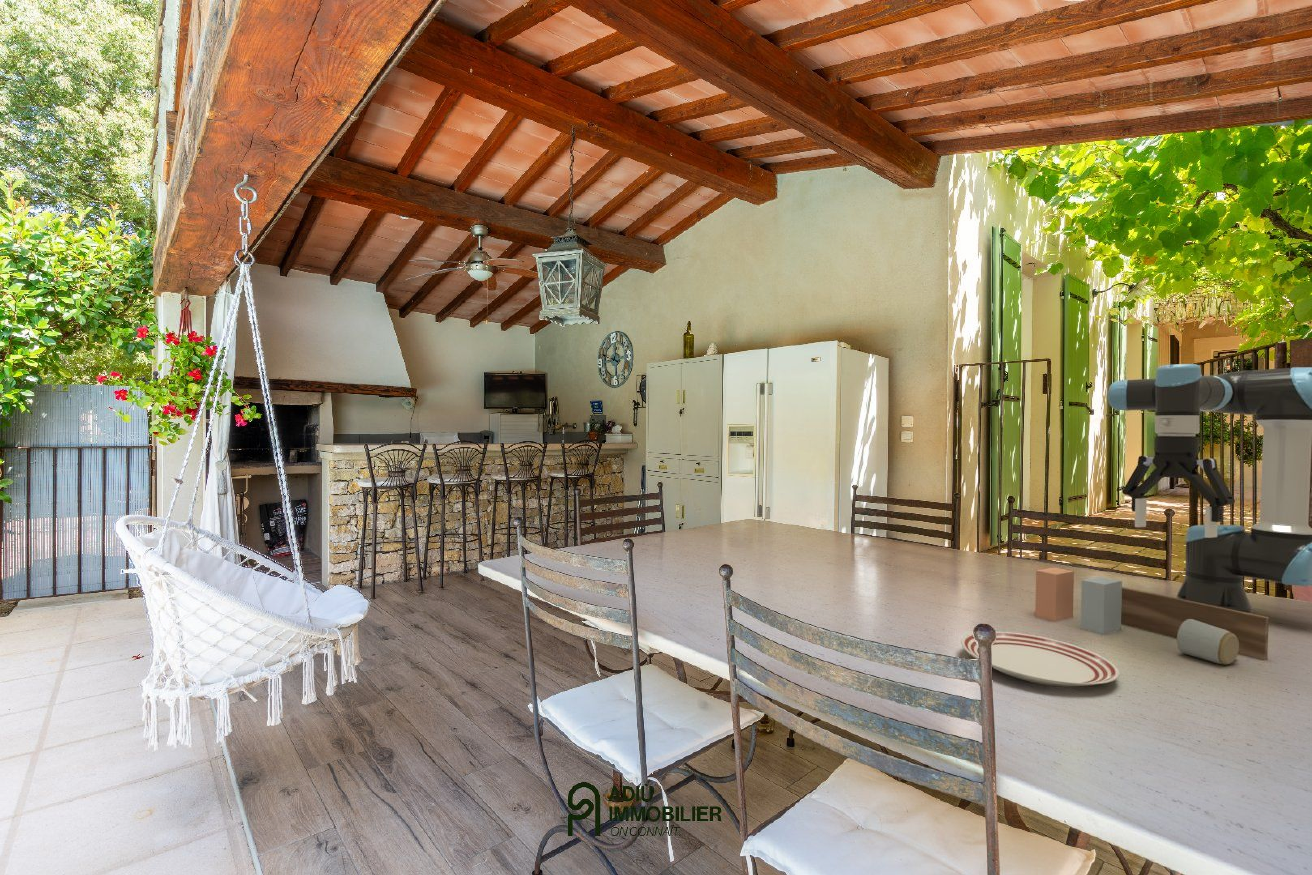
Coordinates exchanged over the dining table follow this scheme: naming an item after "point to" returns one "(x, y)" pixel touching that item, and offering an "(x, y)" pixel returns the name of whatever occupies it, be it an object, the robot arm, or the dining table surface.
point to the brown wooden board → (1172, 612)
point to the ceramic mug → (1207, 642)
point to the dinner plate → (1045, 660)
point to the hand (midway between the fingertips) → (1173, 531)
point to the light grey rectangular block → (1101, 605)
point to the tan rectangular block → (1054, 593)
